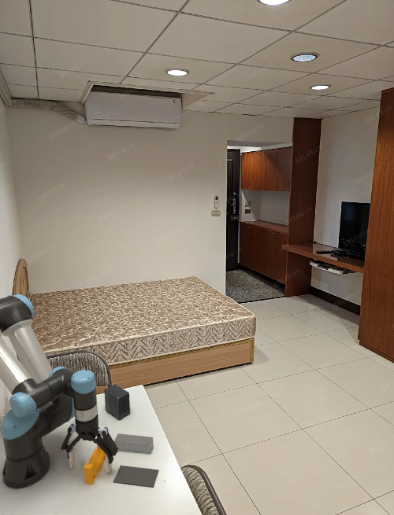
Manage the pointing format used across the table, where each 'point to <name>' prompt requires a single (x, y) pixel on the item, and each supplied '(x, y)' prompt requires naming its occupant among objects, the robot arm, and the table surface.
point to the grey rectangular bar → (134, 443)
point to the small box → (117, 402)
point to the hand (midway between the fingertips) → (91, 468)
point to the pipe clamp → (94, 465)
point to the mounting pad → (136, 476)
